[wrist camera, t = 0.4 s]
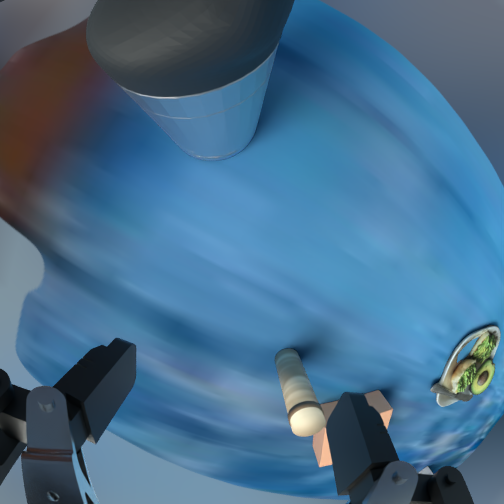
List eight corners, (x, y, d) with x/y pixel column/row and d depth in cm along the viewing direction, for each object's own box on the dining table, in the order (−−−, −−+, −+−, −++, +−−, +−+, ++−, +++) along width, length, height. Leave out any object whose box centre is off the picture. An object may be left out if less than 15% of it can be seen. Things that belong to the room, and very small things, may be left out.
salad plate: (411, 417, 36) (422, 431, 31) (443, 333, 33) (460, 345, 28) (473, 392, 37) (484, 402, 32) (500, 319, 34) (515, 326, 30)
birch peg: (273, 349, 31) (290, 417, 19) (299, 346, 31) (328, 410, 19) (274, 370, 31) (290, 439, 20) (299, 367, 31) (325, 433, 20)
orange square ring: (315, 405, 33) (325, 428, 28) (378, 389, 33) (393, 409, 28) (312, 445, 34) (319, 467, 30) (368, 431, 35) (379, 450, 30)
